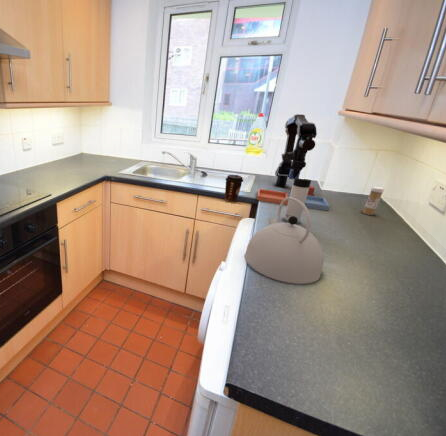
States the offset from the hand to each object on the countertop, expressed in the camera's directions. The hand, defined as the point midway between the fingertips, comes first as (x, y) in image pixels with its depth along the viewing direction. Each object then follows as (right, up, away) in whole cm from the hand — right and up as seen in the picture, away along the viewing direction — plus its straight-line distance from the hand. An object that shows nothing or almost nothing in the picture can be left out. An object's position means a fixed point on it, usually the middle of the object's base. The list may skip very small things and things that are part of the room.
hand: (293, 176), depth 163 cm
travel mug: (-19, -24, -29) cm, 43 cm away
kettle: (-42, -38, -63) cm, 84 cm away
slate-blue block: (0, -1, 0) cm, 1 cm away
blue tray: (+4, -15, -7) cm, 17 cm away
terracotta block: (+13, -9, +9) cm, 18 cm away
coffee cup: (-37, -13, -4) cm, 39 cm away
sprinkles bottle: (+26, -21, -18) cm, 38 cm away
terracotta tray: (-12, -12, 0) cm, 17 cm away
